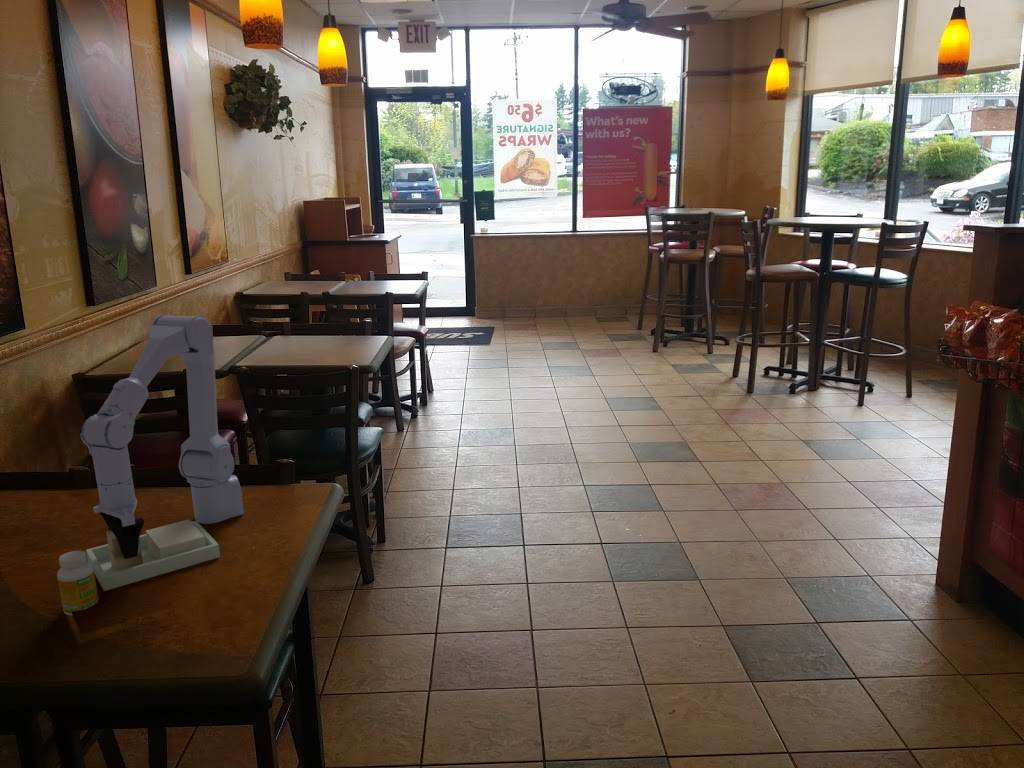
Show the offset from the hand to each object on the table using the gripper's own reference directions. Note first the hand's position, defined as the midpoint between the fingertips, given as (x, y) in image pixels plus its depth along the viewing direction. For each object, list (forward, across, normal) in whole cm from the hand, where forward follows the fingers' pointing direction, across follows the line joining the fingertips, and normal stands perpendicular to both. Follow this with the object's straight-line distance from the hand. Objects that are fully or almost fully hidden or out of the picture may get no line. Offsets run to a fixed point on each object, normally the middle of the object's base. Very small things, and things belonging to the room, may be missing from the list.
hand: (125, 549), depth 149 cm
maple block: (+3, 0, 0) cm, 3 cm away
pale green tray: (+4, 0, +4) cm, 6 cm away
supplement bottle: (+5, +9, -10) cm, 14 cm away
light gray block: (+3, 0, +9) cm, 9 cm away
